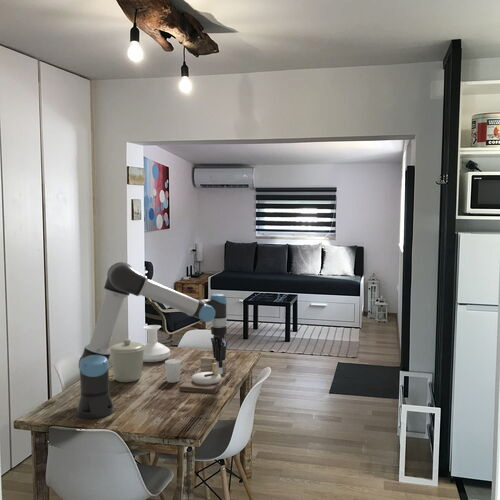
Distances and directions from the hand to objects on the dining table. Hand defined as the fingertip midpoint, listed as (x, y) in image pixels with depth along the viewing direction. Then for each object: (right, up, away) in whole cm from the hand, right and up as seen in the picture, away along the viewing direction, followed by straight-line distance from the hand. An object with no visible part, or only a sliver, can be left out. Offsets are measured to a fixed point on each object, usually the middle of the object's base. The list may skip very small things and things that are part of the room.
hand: (219, 373), depth 256 cm
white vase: (-42, -4, +49) cm, 64 cm away
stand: (-7, -6, +6) cm, 11 cm away
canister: (-48, -6, +13) cm, 50 cm away
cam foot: (-7, -4, +3) cm, 8 cm away
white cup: (-24, -6, +10) cm, 27 cm away
